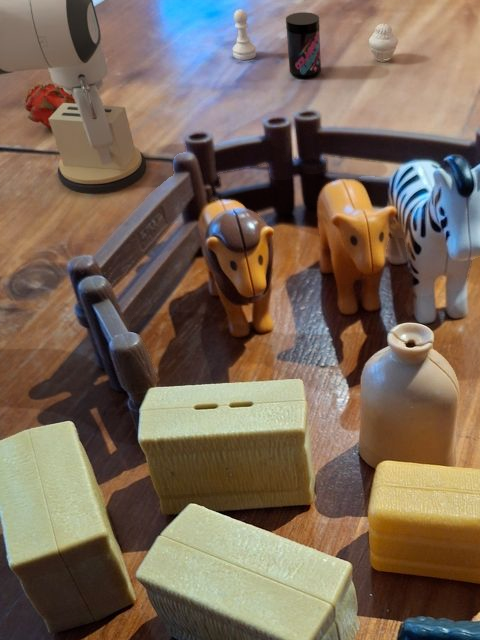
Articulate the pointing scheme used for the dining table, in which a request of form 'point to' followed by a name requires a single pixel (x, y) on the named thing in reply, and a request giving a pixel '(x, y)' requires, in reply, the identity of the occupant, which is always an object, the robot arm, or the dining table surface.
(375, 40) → the muffin
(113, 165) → the toaster
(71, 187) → the turntable base
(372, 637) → the dining table surface
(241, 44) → the chess pawn
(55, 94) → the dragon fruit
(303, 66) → the supplement container
